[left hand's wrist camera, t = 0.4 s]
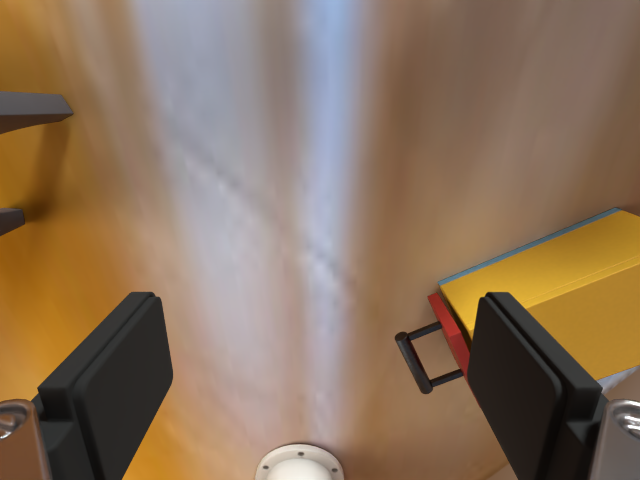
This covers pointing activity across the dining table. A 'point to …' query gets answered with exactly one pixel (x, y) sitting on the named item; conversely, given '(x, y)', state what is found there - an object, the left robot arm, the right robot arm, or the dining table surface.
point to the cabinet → (568, 290)
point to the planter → (20, 112)
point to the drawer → (454, 342)
